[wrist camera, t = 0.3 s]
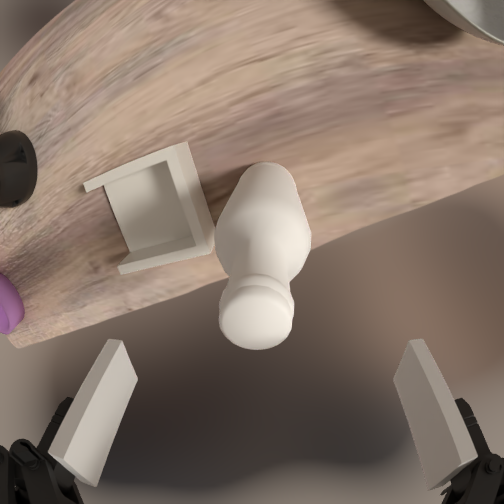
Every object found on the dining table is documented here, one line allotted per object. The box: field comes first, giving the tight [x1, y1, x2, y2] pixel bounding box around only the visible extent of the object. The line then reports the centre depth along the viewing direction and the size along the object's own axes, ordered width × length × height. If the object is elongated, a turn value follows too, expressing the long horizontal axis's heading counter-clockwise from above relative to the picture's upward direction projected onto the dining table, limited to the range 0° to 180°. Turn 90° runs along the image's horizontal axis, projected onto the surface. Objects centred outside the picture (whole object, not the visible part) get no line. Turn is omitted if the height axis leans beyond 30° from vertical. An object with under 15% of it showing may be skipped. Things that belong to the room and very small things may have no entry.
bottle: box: [214, 161, 311, 350], centre depth 27 cm, size 8×8×30 cm
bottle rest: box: [83, 142, 215, 275], centre depth 40 cm, size 15×15×6 cm
